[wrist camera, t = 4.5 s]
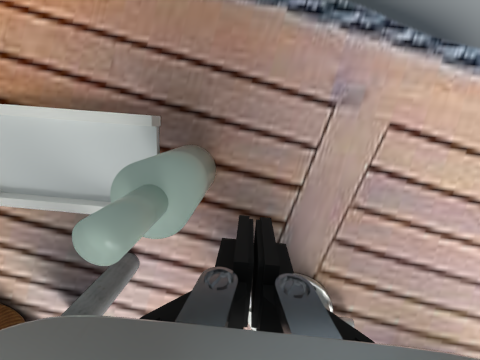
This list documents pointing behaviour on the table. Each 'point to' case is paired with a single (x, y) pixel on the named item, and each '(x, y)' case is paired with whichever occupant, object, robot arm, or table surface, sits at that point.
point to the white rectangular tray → (68, 155)
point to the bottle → (146, 203)
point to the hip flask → (105, 288)
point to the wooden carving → (9, 317)
